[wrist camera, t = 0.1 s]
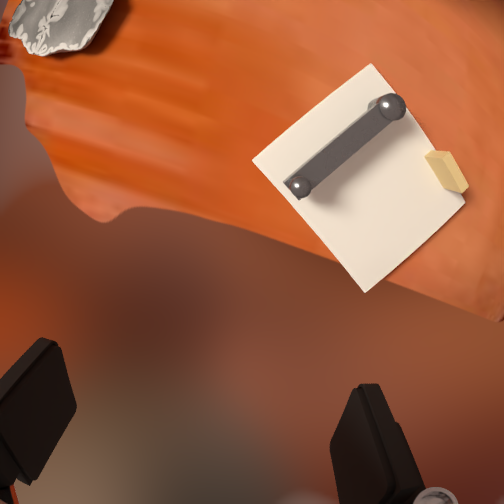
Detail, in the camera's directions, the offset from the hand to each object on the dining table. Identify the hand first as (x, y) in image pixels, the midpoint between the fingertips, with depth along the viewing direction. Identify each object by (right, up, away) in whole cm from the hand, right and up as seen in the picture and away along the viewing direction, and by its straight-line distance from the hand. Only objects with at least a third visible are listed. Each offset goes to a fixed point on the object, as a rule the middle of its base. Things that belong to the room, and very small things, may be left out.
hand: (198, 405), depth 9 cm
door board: (+16, +14, +28) cm, 35 cm away
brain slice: (-25, +40, +21) cm, 52 cm away
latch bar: (+12, +17, +25) cm, 32 cm away
